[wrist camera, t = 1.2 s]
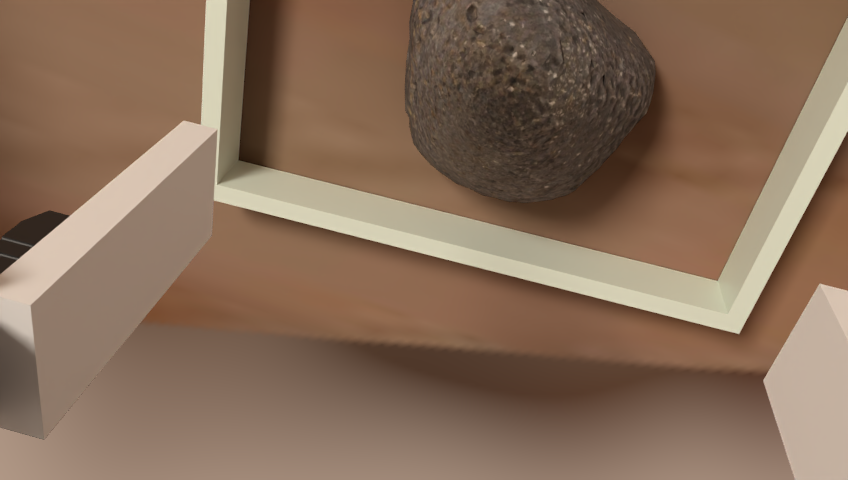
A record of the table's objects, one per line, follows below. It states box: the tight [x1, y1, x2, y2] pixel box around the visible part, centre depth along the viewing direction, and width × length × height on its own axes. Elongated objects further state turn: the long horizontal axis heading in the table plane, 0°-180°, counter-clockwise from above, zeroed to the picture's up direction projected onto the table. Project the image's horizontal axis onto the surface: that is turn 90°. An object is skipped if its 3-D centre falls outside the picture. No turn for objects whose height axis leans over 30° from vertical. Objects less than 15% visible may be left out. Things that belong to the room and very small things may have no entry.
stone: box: [405, 0, 655, 203], centre depth 28 cm, size 10×8×10 cm
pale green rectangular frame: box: [201, 0, 848, 334], centre depth 29 cm, size 24×18×2 cm
